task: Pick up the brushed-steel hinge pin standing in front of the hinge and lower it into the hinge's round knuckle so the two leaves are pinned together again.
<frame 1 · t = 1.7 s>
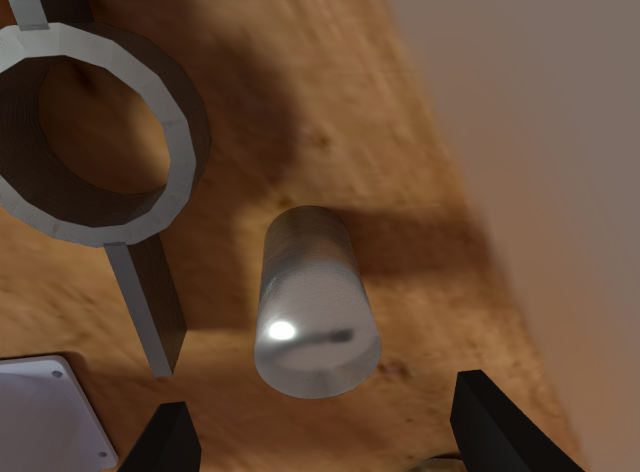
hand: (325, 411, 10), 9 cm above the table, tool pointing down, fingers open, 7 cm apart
hinge pin: (307, 244, 18), on the table
hinge: (115, 128, 15), on the table
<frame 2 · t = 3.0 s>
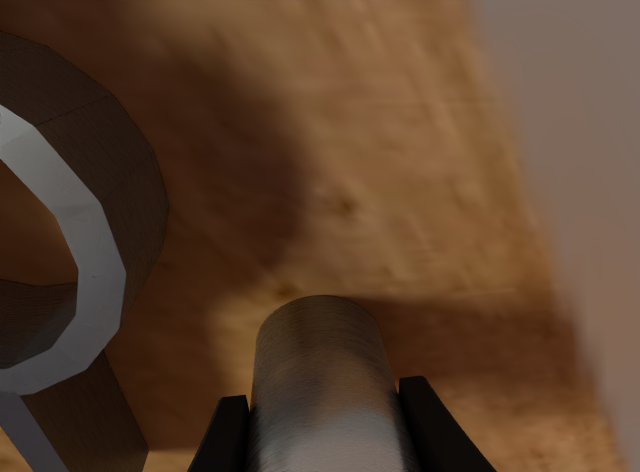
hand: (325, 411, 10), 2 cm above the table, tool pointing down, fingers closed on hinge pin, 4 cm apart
hinge pin: (318, 345, 12), on the table, touching gripper
hinge: (11, 192, 9), on the table
when the fingers open (4 cm above the table, at t = 6.0 s): hinge pin drops 1 cm, resting in hinge.
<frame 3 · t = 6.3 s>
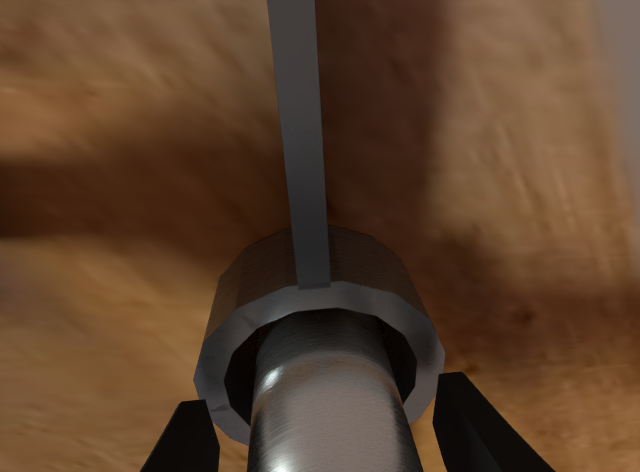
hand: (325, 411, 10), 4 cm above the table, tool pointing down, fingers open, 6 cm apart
hinge pin: (316, 315, 14), resting in hinge
hinge: (315, 314, 14), on the table
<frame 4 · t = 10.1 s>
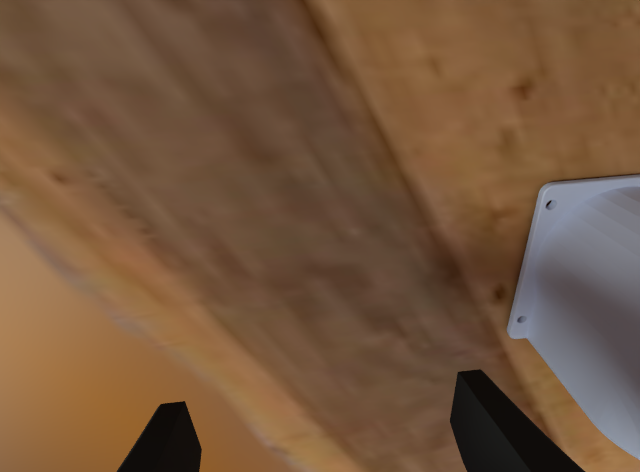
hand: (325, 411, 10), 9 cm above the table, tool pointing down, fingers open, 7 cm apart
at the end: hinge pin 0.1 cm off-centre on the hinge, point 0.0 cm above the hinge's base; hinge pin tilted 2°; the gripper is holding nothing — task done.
